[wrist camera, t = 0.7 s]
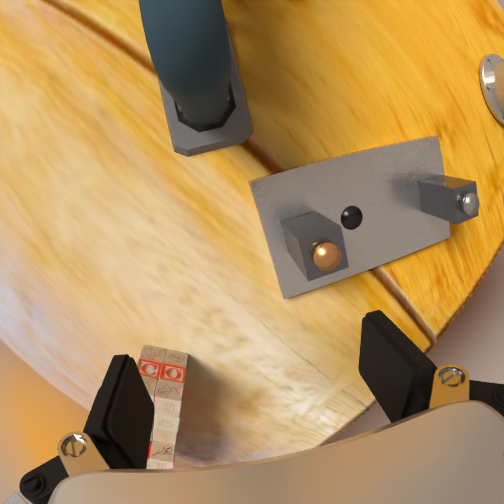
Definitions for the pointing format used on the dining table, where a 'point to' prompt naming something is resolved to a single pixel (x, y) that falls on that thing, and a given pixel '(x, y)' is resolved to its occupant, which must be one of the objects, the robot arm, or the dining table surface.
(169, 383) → the stack of blocks
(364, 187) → the hole plate
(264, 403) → the dining table surface
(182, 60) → the curved pipe assembly
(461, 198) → the fixed leg
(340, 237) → the block
